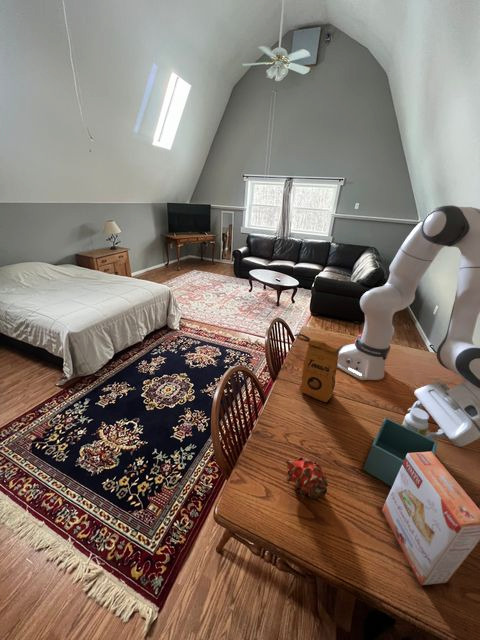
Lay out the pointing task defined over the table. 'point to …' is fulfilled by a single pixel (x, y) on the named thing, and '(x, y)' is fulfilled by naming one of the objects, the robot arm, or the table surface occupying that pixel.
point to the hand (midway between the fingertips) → (417, 424)
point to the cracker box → (431, 518)
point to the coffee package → (319, 370)
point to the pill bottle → (416, 421)
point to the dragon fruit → (307, 477)
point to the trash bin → (394, 450)
